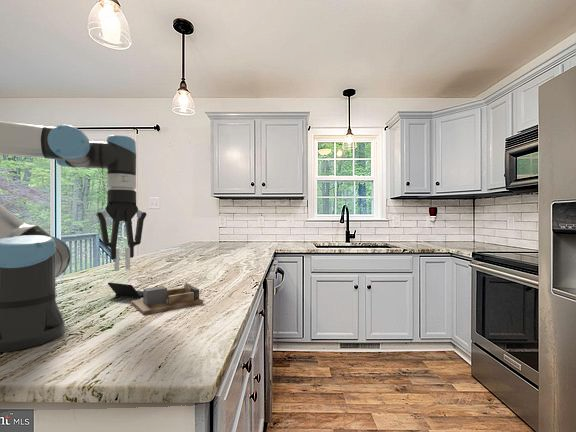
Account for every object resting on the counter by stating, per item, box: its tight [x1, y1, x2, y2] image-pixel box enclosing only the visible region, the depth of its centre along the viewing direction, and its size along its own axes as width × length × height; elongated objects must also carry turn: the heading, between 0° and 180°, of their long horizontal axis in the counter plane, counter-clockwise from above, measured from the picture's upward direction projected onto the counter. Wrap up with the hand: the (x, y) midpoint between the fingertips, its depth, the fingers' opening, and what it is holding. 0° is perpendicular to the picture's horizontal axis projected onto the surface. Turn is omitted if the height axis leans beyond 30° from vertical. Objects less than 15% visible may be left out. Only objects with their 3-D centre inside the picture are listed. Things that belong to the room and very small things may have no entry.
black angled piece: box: [107, 282, 143, 300], centre depth 110 cm, size 12×7×10 cm
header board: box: [131, 282, 204, 316], centre depth 101 cm, size 18×14×5 cm
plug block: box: [142, 285, 168, 306], centre depth 98 cm, size 6×4×4 cm, turn 129°
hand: (122, 269), depth 92 cm, fingers open, 2 cm apart
